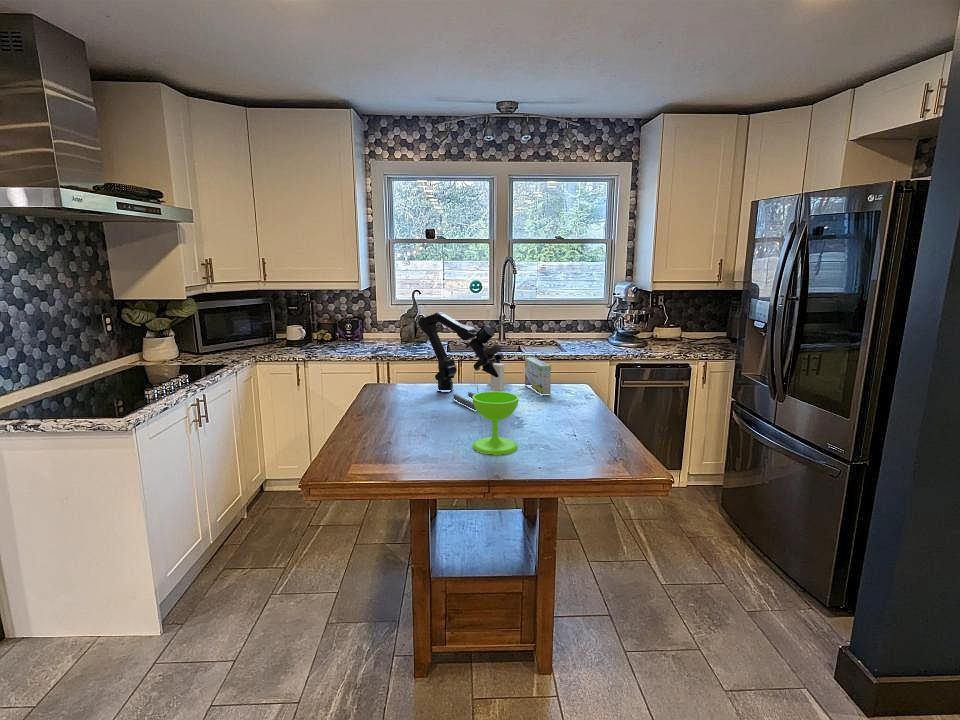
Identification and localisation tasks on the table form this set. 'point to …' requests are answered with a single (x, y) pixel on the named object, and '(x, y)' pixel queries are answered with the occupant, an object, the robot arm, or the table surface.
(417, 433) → the table surface
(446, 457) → the table surface
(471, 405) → the bottom track
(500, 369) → the cream rectangular block
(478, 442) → the wineglass
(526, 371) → the snack box
